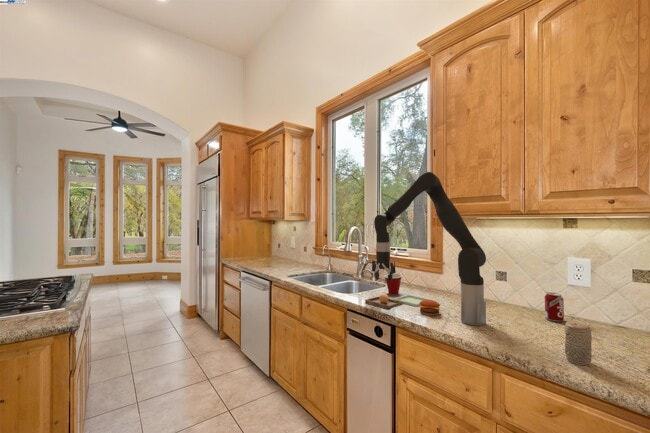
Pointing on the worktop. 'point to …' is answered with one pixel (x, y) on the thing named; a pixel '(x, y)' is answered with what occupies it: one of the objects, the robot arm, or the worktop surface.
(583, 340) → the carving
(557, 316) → the soda can
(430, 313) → the hamburger
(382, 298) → the ball
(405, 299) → the dish
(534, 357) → the worktop surface
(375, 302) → the tray
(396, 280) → the plastic cup
